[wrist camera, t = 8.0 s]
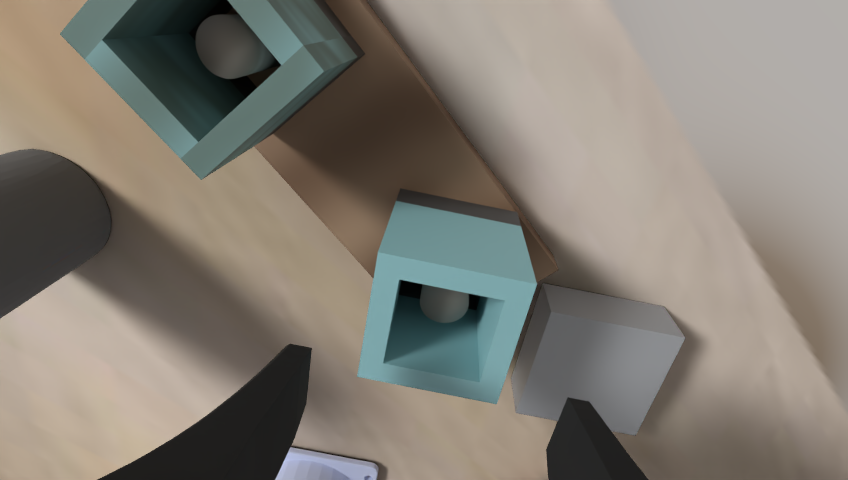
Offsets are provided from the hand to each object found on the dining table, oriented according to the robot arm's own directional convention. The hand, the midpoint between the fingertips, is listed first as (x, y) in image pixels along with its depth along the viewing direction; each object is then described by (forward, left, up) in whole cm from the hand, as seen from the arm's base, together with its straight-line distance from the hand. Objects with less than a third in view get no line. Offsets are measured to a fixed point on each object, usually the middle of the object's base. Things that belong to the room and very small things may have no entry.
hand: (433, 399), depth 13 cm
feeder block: (-4, -8, -10) cm, 14 cm away
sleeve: (0, 0, -9) cm, 9 cm away
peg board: (+4, +4, -10) cm, 12 cm away
